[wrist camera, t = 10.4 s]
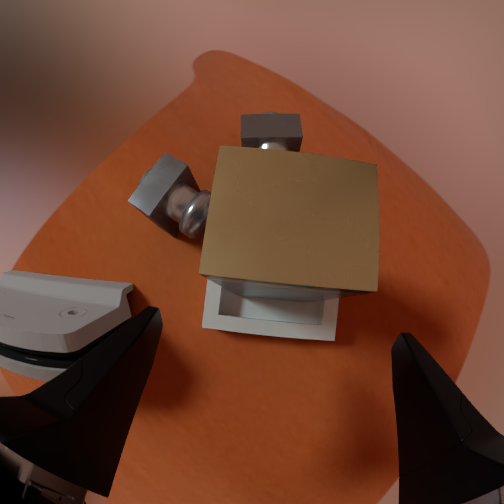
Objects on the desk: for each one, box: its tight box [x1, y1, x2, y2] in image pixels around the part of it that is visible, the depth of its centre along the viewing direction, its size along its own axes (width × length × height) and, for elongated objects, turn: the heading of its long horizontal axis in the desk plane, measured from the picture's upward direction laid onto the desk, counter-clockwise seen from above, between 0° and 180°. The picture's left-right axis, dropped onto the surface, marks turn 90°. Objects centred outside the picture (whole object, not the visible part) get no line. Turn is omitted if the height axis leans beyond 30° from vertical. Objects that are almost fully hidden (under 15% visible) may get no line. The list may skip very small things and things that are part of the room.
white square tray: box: [202, 279, 339, 341], centre depth 20 cm, size 9×9×2 cm
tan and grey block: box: [199, 146, 379, 302], centre depth 14 cm, size 5×4×13 cm
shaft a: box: [241, 112, 303, 152], centre depth 20 cm, size 5×4×6 cm
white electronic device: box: [0, 270, 133, 381], centre depth 17 cm, size 17×5×10 cm, turn 87°
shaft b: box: [128, 153, 211, 239], centre depth 20 cm, size 5×4×6 cm
